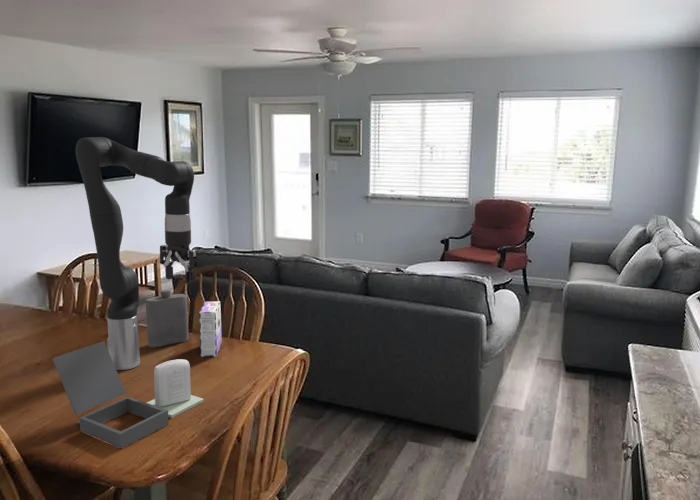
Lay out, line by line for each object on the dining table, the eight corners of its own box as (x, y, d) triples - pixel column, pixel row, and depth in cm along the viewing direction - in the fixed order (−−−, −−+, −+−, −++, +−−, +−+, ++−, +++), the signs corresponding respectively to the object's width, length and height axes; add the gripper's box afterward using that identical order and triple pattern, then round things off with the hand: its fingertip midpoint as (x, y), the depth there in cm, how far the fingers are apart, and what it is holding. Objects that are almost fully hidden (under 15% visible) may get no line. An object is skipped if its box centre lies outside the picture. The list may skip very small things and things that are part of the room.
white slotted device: (187, 394, 172) (186, 354, 169) (193, 399, 168) (191, 359, 166) (153, 403, 166) (150, 362, 163) (158, 409, 162) (156, 367, 160)
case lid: (77, 414, 150) (74, 415, 151) (125, 393, 163) (122, 394, 164) (54, 357, 152) (51, 359, 153) (104, 340, 164) (101, 342, 165)
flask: (185, 336, 224) (182, 286, 220) (190, 341, 219) (188, 289, 215) (145, 344, 215) (142, 291, 212) (150, 348, 211) (147, 295, 207)
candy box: (206, 343, 217) (204, 300, 214) (222, 343, 217) (221, 300, 214) (200, 357, 203) (198, 311, 200) (217, 356, 204) (215, 311, 201)
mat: (142, 407, 165) (142, 404, 165) (174, 392, 175) (174, 389, 175) (172, 417, 159) (171, 415, 159) (203, 401, 169) (203, 398, 169)
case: (80, 432, 151) (79, 417, 150) (128, 409, 163) (127, 396, 163) (121, 449, 143) (120, 434, 142) (168, 424, 155) (167, 410, 155)
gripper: (204, 229, 174) (205, 282, 177) (171, 224, 181) (172, 275, 184) (185, 232, 168) (186, 287, 171) (151, 227, 175) (153, 279, 178)
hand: (179, 280), depth 178 cm, fingers open, 8 cm apart
